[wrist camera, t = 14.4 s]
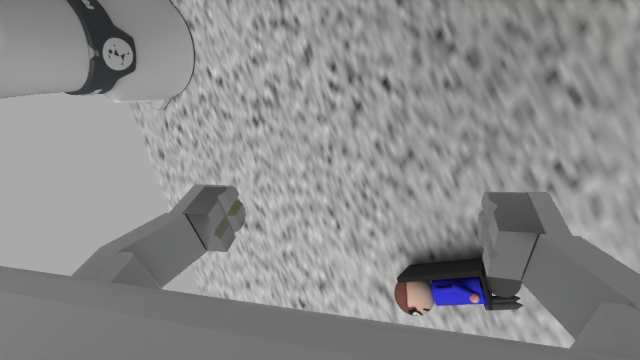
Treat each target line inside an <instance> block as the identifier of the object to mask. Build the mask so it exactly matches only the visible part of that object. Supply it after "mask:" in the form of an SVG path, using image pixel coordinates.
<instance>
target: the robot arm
mask: <svg viewBox="0 0 640 360" xmlns="http://www.w3.org/2000/svg"><path fill="white" fill-rule="evenodd" d="M193 65H194V51H193V44H192V39H191V36H190V33H189V30H188V28H187V25H186V23H185V21H184V20H183V18H182V16H181V15H180V14H179V12H178V11H177V10H176V9H175V7H174V6H173V5H172V4H171V2H170V1H169V0H0V98H8V97H16V96H25V95H34V94H46V93H58V92H65V93H67V94H70V95H83V96H86V95H95V94H104V95H105V96H106V97H108V98H110V99H112V100H113V101H114V102H118V103H123V102H145V103H146V104H148V105H150V106H151V107H153V108H155V109H164V108H165V107H166V106H167V104H168V102H169V101H170V99H171V98H172V97H174V96H176V95H178V94H179V93H181V92H182V91H183V90H184V89H185V87H186V86H187V84H188V83H189V81H190V78H191V75H192V71H193ZM238 196H239V193H238V191H237V189H236V187H233V186H225V185H199V184H198V185H195V186H193V187H192V188H191V189H190V190H189V192H188V193H187V194H186V195H185V196H184V197H183V198H182V199H181V200H180V202H179V203H178V204H177V205H176V206H175V207H174V208H173V209H172V210H171V212H170V213H165V214H163V215H161V216H159V217H157V218H155V219H154V220H152V221H150V222H148V223H146V224H144V225H142V226H140V227H138V228H136V229H134V230H133V231H131V232H129V233H127V234H125V235H123V236H121V237H120V238H117V239H116V240H114V241H112V242H110V243H108V244H106V245H104V246H102V247H101V248H99V249H98V250H97V251H96V252H95V253H94V254H93V255H92V256H91V257H90V258H89V259H88V260H87V261H86V262H85V263H84V264H83V265H82V266H81V267H80V268H79V269H78V270H77V271H76V272H75V273H74V274H73V275H72V276H64V275H58V274H50V273H44V272H37V271H30V270H23V269H16V268H10V267H3V266H0V360H640V274H638V273H637V272H635V271H633V270H632V269H630V268H629V267H627V266H626V265H624V264H622V263H621V262H619V261H618V260H616V259H615V258H613V257H611V256H610V255H608V254H607V253H605V252H603V251H602V250H600V249H599V248H597V247H596V246H594V245H592V244H591V243H589V242H588V241H586V240H585V239H583V238H581V237H580V236H572V234H571V232H570V230H569V228H568V226H567V225H566V223H565V221H564V219H563V217H562V216H561V214H560V212H559V210H558V208H557V207H556V205H555V203H554V201H553V199H552V197H551V196H550V194H549V193H547V192H525V193H523V192H484V195H483V198H482V206H483V211H482V212H481V213H480V214H479V218H478V239H479V244H480V246H482V247H483V248H484V252H483V256H482V258H483V262H484V267H485V271H486V275H487V277H496V278H504V279H513V280H521V281H522V283H523V284H524V285H525V286H526V287H527V288H528V290H529V291H530V292H531V293H532V294H533V295H534V296H535V297H536V298H537V299H538V300H539V301H540V302H541V303H542V304H543V306H544V307H545V308H546V309H547V310H548V311H549V312H550V313H551V314H552V315H553V316H554V317H555V318H556V319H557V320H558V322H559V323H560V324H561V325H562V326H563V327H564V328H565V329H566V330H567V331H568V332H569V333H570V334H571V335H572V336H573V338H574V339H575V342H574V343H573V345H572V346H571V348H570V349H568V348H562V347H555V346H548V345H541V344H534V343H527V342H520V341H513V340H506V339H500V338H493V337H486V336H479V335H472V334H465V333H458V332H451V331H444V330H437V329H431V328H424V327H417V326H410V325H403V324H396V323H389V322H382V321H375V320H368V319H361V318H354V317H347V316H340V315H333V314H326V313H319V312H312V311H305V310H299V309H292V308H285V307H278V306H271V305H264V304H258V303H251V302H244V301H237V300H230V299H223V298H216V297H210V296H203V295H196V294H188V293H182V292H175V291H168V290H163V289H162V287H163V286H165V285H166V284H167V283H168V282H170V281H171V280H172V279H173V278H175V277H176V276H177V275H178V274H180V273H181V272H182V271H183V270H185V269H186V268H187V267H188V266H190V265H191V264H192V263H193V262H194V261H196V260H197V259H198V258H199V257H201V256H202V255H203V254H204V253H206V251H220V252H227V251H228V249H229V248H230V246H231V244H232V243H233V241H234V239H235V232H237V231H238V230H240V229H241V228H242V226H243V224H244V221H245V216H246V213H245V208H244V205H243V203H241V202H240V201H239V200H238Z"/></svg>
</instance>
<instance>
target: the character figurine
mask: <svg viewBox="0 0 640 360" xmlns="http://www.w3.org/2000/svg"><path fill="white" fill-rule="evenodd" d="M397 280H398V283H397V284H396V287H395V299H396V302H397V304H398V306H399V307H400V308H401V309H402V310H403V311H404V312H406V313H408V314H410V315H414V316H420V315H424V314H426V313H427V312H429V311H430V310H431V308H432V307H433V305H434V302H435V303H436V305H437V306H442V305H465V304H484V306H485V309H486V310H509V309H518V308H520V307H521V306H523V305H522V304H520V303H517V302H516V301H517V300H519V299H520V298H519V297H517V296H514V295H516V294H517V293H518V292H519V290H520V287H521V283H522V281H521V280H513V279H504V278H496V277H487V275H486V271H485V267H484V263H483V262H482V258H476V259H466V260H457V261H448V262H438V263H429V264H420V265H410V266H408V267H407V268H406V269H405V270H404V271H403V272H402V273H401V274H400V275H399V276H398V277H397ZM429 280H432V285H431V284H430V283H429V282H428V281H429ZM492 293H493V294H495V295H497V296H492Z"/></svg>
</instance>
